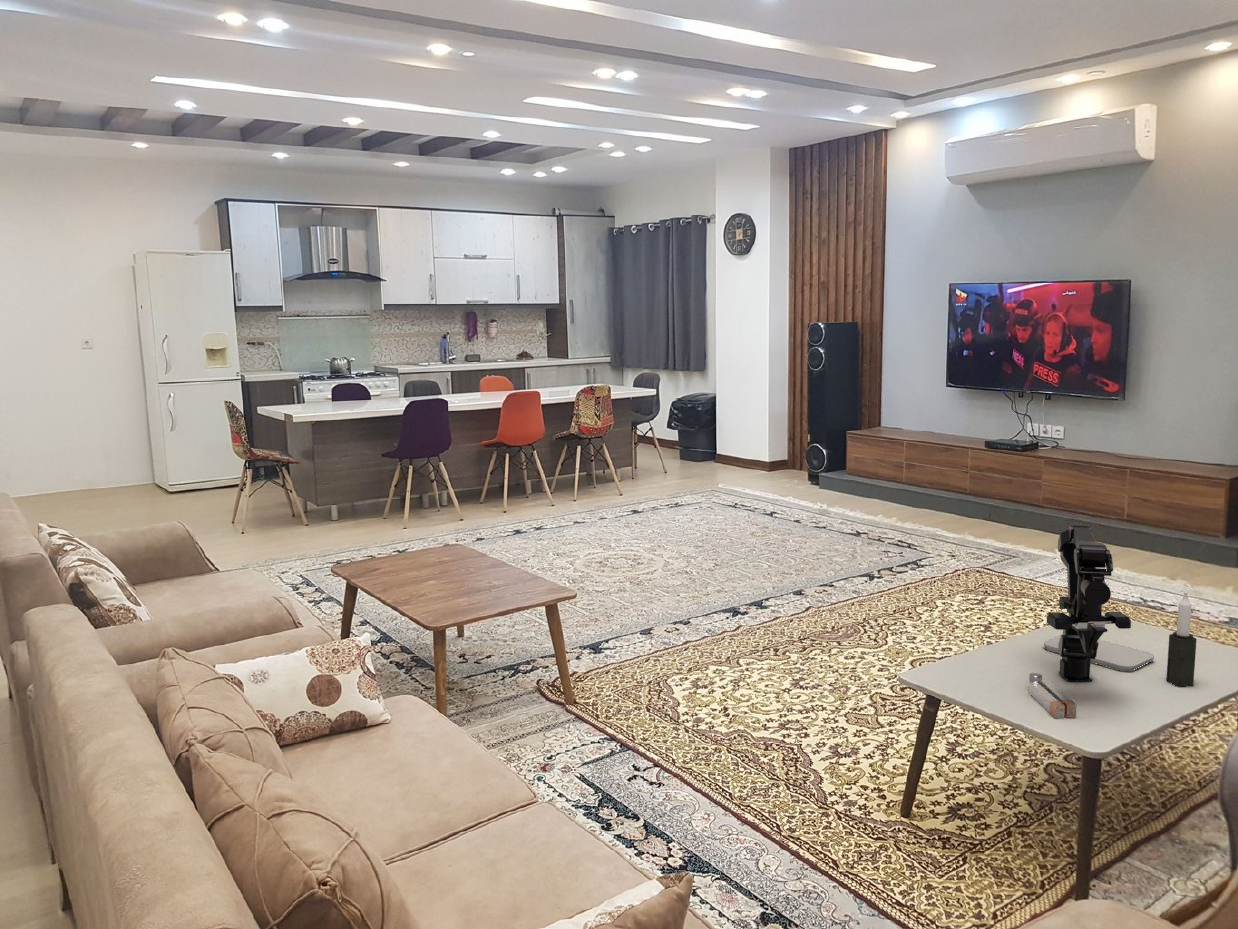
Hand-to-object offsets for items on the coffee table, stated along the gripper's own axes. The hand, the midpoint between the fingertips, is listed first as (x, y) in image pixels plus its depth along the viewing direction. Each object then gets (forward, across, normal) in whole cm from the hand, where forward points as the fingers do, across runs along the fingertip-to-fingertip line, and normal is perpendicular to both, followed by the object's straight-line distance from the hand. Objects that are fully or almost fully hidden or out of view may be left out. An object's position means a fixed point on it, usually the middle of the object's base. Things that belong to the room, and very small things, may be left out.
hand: (1086, 653), depth 240 cm
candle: (+12, -29, -9) cm, 33 cm away
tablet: (+13, -18, -31) cm, 38 cm away
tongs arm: (+12, +9, +4) cm, 15 cm away
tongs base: (+12, +11, +2) cm, 16 cm away
